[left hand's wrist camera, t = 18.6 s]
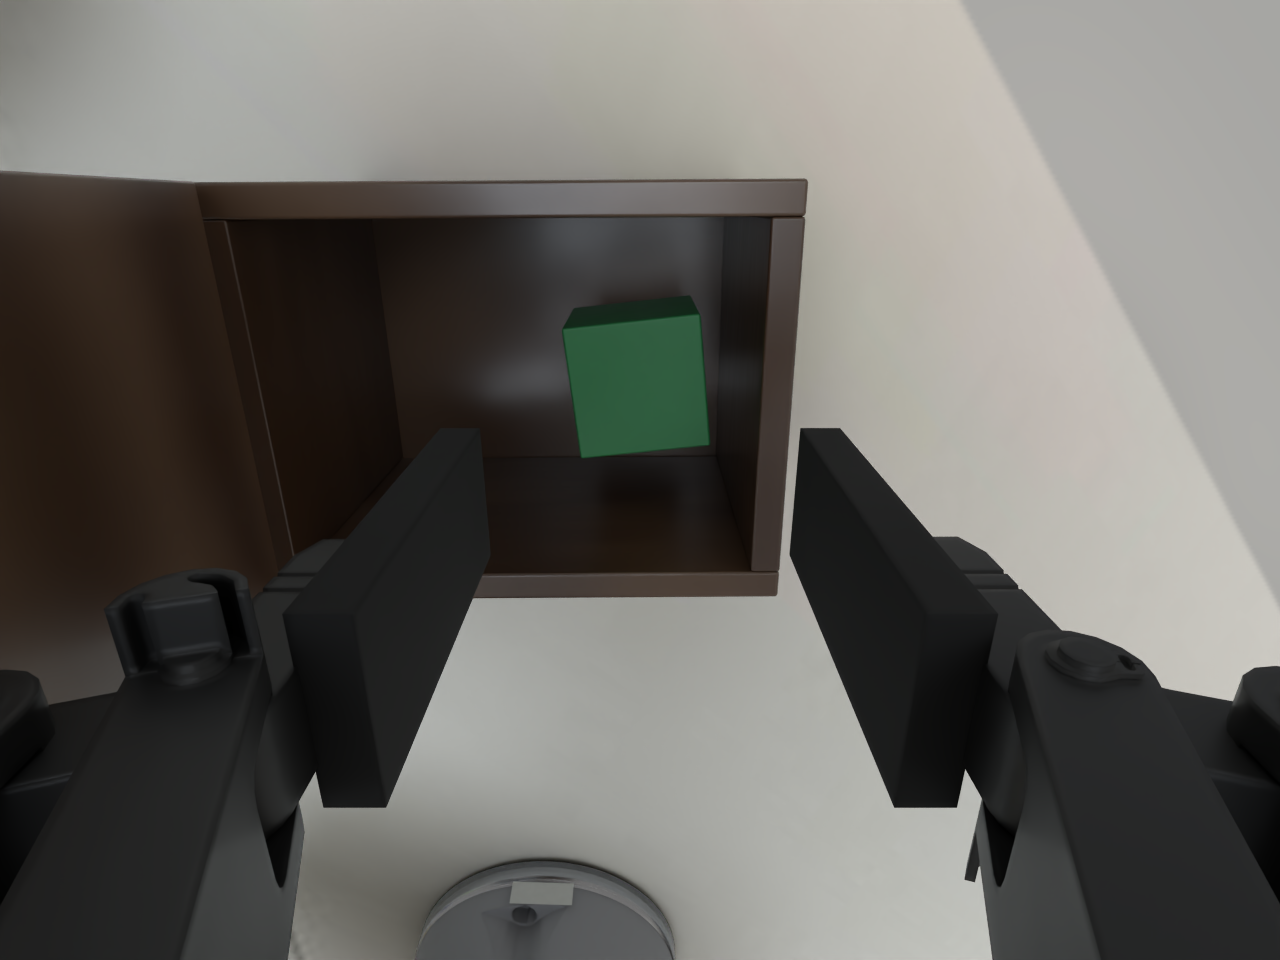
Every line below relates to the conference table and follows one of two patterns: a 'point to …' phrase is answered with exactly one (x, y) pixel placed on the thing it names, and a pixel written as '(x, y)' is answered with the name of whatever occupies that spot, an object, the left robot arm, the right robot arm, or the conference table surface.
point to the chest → (514, 364)
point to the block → (637, 376)
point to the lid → (112, 418)
